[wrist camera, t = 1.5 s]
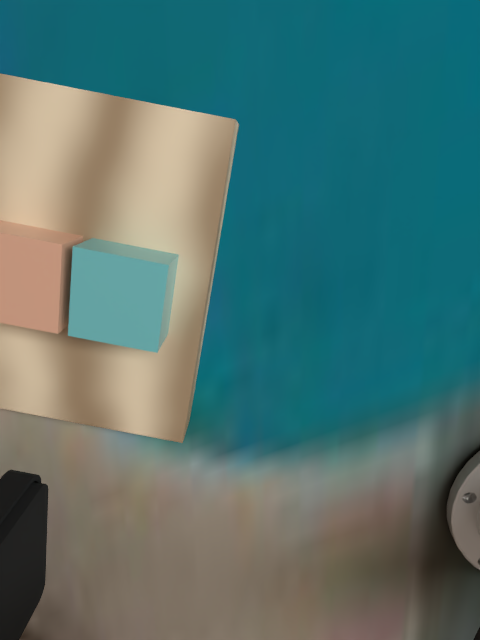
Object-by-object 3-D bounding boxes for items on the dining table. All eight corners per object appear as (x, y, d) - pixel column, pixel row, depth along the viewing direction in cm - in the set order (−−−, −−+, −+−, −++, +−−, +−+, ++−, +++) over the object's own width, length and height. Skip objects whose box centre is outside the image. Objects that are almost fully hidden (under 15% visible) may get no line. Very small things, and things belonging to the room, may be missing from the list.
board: (238, 124, 23) (235, 119, 21) (189, 420, 29) (182, 442, 27) (9, 79, 23) (-20, 69, 21) (7, 385, 29) (-15, 405, 27)
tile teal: (179, 254, 23) (168, 265, 21) (168, 334, 24) (157, 352, 22) (92, 237, 23) (72, 246, 21) (86, 319, 24) (68, 335, 22)
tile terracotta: (83, 236, 23) (61, 244, 20) (77, 317, 24) (58, 333, 22) (-4, 219, 23) (-35, 225, 20) (-4, 301, 24) (-33, 316, 22)
